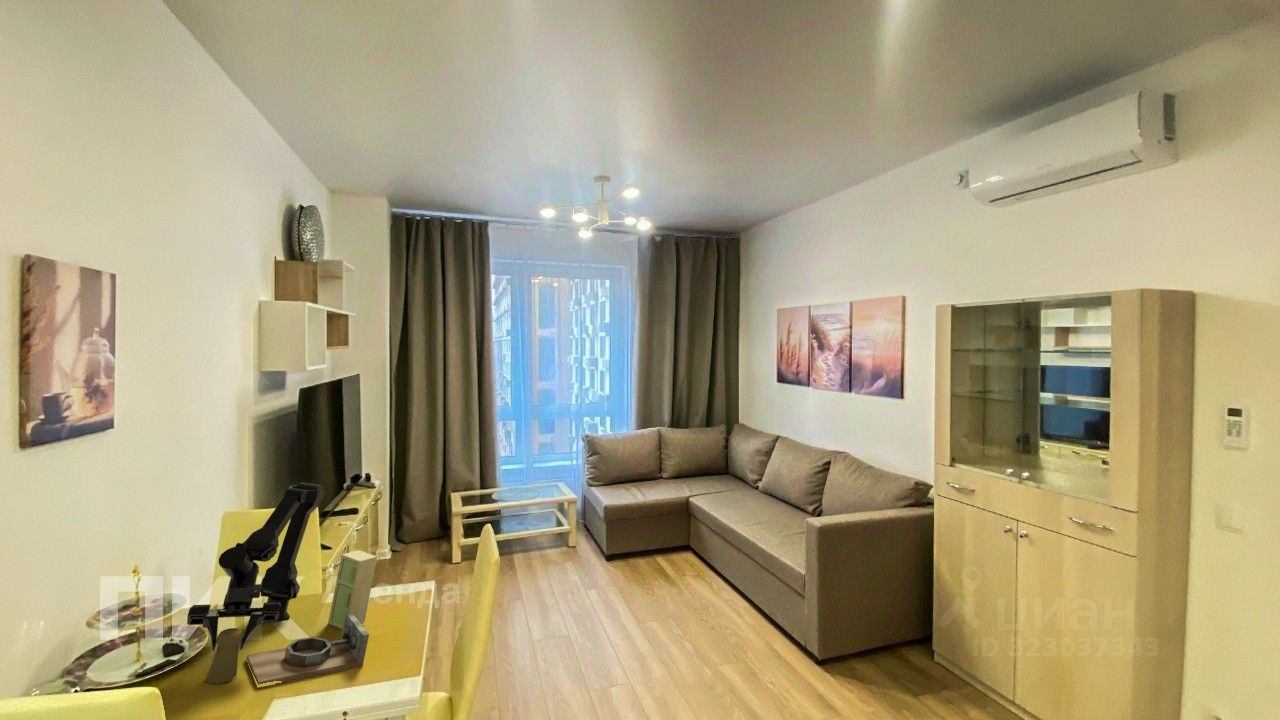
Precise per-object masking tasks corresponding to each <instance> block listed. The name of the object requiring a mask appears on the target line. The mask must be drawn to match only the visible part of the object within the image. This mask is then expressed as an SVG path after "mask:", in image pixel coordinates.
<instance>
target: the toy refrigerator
mask: <svg viewBox="0 0 1280 720" xmlns="http://www.w3.org/2000/svg"><path fill="white" fill-rule="evenodd" d="M377 559H378V558H377V556H376V555H374V554H371V553H369V552H365V551H363V550H359V549H358V550H353V551H351V552H346V553H343V554H341V556H340V561H339V566H338V570H337V576H336V581H335V586H334V591H333V596H332V601H331V606H330V612H329V617H328V622H327V623H328V625H329V626H333V627H335V628H338V629H339V630H342V631H343V628H344V623H345V618H346V614H348V613H353V615H354V616H355V617H356V618H357V620H358V621H359V622H360V623H361V624H363V623H364V624H365V622H366V615H367V611H368V605H369V600H370V596H371V590H372V584H373V580H374V575H375V569H376V563H377Z"/></svg>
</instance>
